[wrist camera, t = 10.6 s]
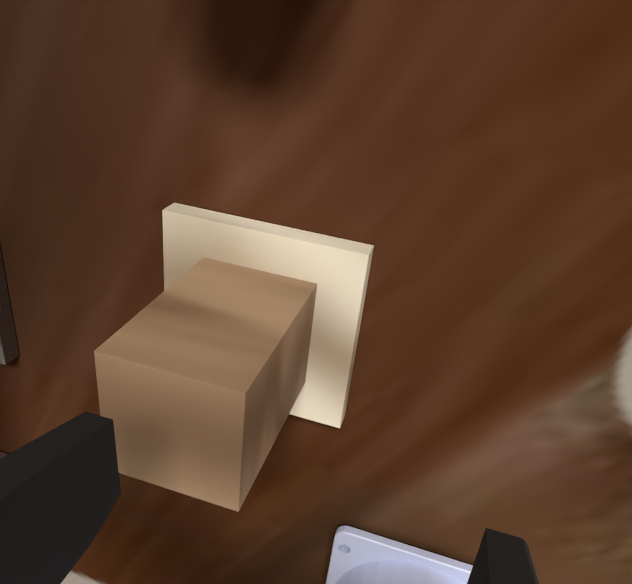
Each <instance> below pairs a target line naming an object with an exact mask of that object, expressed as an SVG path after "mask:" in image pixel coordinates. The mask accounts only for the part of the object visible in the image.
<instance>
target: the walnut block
mask: <svg viewBox="0 0 632 584" xmlns="http://www.w3.org/2000/svg"><path fill="white" fill-rule="evenodd" d="M316 290H317V284H316V283H312V282H308V281H304V280H299V279H295V278H291V277H286V276H282V275H278V274H273V273H269V272H265V271H261V270H256V269H252V268H248V267H243V266H239V265H235V264H231V263H226V262H222V261H218V260H213V259H209V258H205V257H203V258H202V259H201V260H200V261H199V262H198V263H196V264H195V265H194V266H193V267H192V268H191V269H189V270H188V271H187V272H186V273H185V274H184V275H182V276H181V277H180V278H179V279H178V280H177V281H175V282H174V283H173V284H172V285H171V286H170V287H168V288H167V289H166V290H165V291H164V292H163V293H161V294H160V295H159V296H158V297H157V298H155V299H154V300H153V301H152V302H151V303H150V304H148V305H147V306H146V307H145V308H144V309H143V310H141V311H140V312H139V313H138V314H137V315H136V316H134V317H133V318H132V319H131V320H130V321H129V322H127V323H126V324H125V325H124V326H123V327H122V328H120V329H119V330H118V331H117V332H116V333H115V334H113V335H112V336H111V337H110V338H109V339H108V340H106V341H105V342H104V343H103V344H102V345H101V346H99V347H98V348H97V349H96V350H95V351H94V355H95V365H96V376H97V386H98V396H99V406H100V416H103V417H106V418H109V419H113V424H114V433H115V443H116V452H117V462H118V472H119V473H121V474H124V475H127V476H130V477H133V478H136V479H139V480H142V481H145V482H148V483H152V484H155V485H158V486H161V487H164V488H167V489H170V490H173V491H176V492H179V493H182V494H185V495H188V496H192V497H195V498H198V499H201V500H204V501H207V502H210V503H213V504H216V505H219V506H222V507H225V508H228V509H232V510H235V511H238V512H239V510H240V508H241V506H242V504H243V502H244V500H245V498H246V496H247V494H248V492H249V490H250V488H251V486H252V484H253V483H254V481H255V479H256V477H257V475H258V473H259V471H260V469H261V467H262V465H263V463H264V461H265V459H266V457H267V455H268V454H269V452H270V450H271V448H272V446H273V444H274V442H275V440H276V438H277V436H278V434H279V432H280V430H281V428H282V426H283V424H284V423H285V421H286V419H287V417H288V415H289V413H290V411H291V409H292V407H293V405H294V403H295V401H296V399H297V397H298V395H299V393H300V392H301V390H302V388H303V386H304V384H305V380H306V372H307V364H308V356H309V348H310V339H311V331H312V323H313V315H314V307H315V299H316Z"/></svg>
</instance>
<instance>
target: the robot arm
mask: <svg viewBox="0 0 632 584" xmlns="http://www.w3.org/2000/svg"><path fill="white" fill-rule="evenodd" d="M120 494H121V491H120V481H119V472H118V462H117V452H116V443H115V433H114V424H113V419H109V418H106V417H103V416H99V415H96V414H92V413H89V412H85V413H83V414H81V415H79V416H77V417H75V418H73V419H71V420H69V421H68V422H66V423H64V424H62V425H60V426H58V427H57V428H55V429H53V430H51V431H49V432H48V433H46V434H44V435H42V436H41V437H39V438H37V439H35V440H33V441H32V442H30V443H28V444H26V445H24V446H23V447H21V448H19V449H17V450H15V451H14V452H12V453H10V454H8V455H6V456H4V457H3V458H1V459H0V584H60V583H61V582H62V581H63V580H64V578H65V577H66V576H67V574H68V573H69V572H70V570H71V569H72V568H73V566H74V565H75V564H76V562H77V561H78V560H79V558H80V557H81V556H82V555H83V553H84V552H85V551H86V549H87V548H88V546H89V545H90V544H91V542H92V541H93V539H94V538H95V536H96V535H97V533H98V531H99V530H100V528H101V526H102V525H103V523H104V522H105V520H106V518H107V516H108V515H109V513H110V511H111V510H112V508H113V506H114V504H115V503H116V501H117V499H118V497H119V496H120ZM326 584H539V583H538V580H537V576H536V573H535V570H534V566H533V563H532V559H531V556H530V552H529V548H528V545H527V544H526V542H525V541H524V539H522V538H519V537H515V536H512V535H508V534H505V533H501V532H498V531H495V530H491V529H488V528H486V530H485V533H484V536H483V539H482V542H481V544H480V547H479V550H478V553H477V556H476V559H475V562H474V565H470V564H467V563H464V562H460V561H457V560H454V559H451V558H448V557H445V556H442V555H438V554H435V553H432V552H429V551H426V550H423V549H419V548H416V547H413V546H410V545H407V544H404V543H401V542H397V541H394V540H391V539H388V538H385V537H382V536H379V535H375V534H372V533H369V532H366V531H363V530H360V529H356V528H353V527H350V526H340V527H339V528H337V530H336V533H335V537H334V542H333V547H332V553H331V558H330V564H329V569H328V575H327V580H326Z"/></svg>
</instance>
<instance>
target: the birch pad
mask: <svg viewBox="0 0 632 584" xmlns="http://www.w3.org/2000/svg"><path fill="white" fill-rule="evenodd" d="M162 212H163V253H164V291H165V290H166V289H167V288H168V287H170V286H171V285H172V284H173V283H174V282H175V281H177V280H178V279H179V278H180V277H181V276H182V275H184V274H185V273H186V272H187V271H188V270H189V269H191V268H192V267H193V266H194V265H195V264H196V263H198V262H199V261H200V260H201V259H202V258H203V257H205V258H209V259H213V260H218V261H222V262H226V263H231V264H235V265H239V266H243V267H248V268H252V269H256V270H261V271H265V272H269V273H273V274H278V275H282V276H286V277H291V278H295V279H299V280H304V281H308V282H312V283H316V284H317V290H316V299H315V307H314V315H313V323H312V331H311V339H310V348H309V356H308V364H307V372H306V380H305V384H304V386H303V388H302V390H301V392H300V393H299V395H298V397H297V399H296V401H295V403H294V405H293V407H292V409H291V411H290V413H289V414H291V415H294V416H298V417H301V418H305V419H308V420H312V421H315V422H319V423H323V424H326V425H330V426H333V427H337V428H340V427H341V424H342V421H343V419H344V416H345V412H346V406H347V400H348V394H349V388H350V382H351V377H352V371H353V365H354V359H355V353H356V347H357V342H358V336H359V330H360V324H361V318H362V312H363V307H364V301H365V295H366V289H367V283H368V277H369V271H370V266H371V260H372V254H373V248H374V245H369V244H364V243H360V242H355V241H350V240H346V239H341V238H336V237H332V236H327V235H322V234H318V233H313V232H308V231H304V230H299V229H294V228H290V227H285V226H280V225H276V224H271V223H266V222H262V221H257V220H252V219H248V218H243V217H238V216H234V215H229V214H225V213H220V212H215V211H211V210H206V209H201V208H197V207H192V206H187V205H183V204H178V203H173V204H172V205H170V206H168V207H167V208H165V209H163V210H162Z"/></svg>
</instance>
